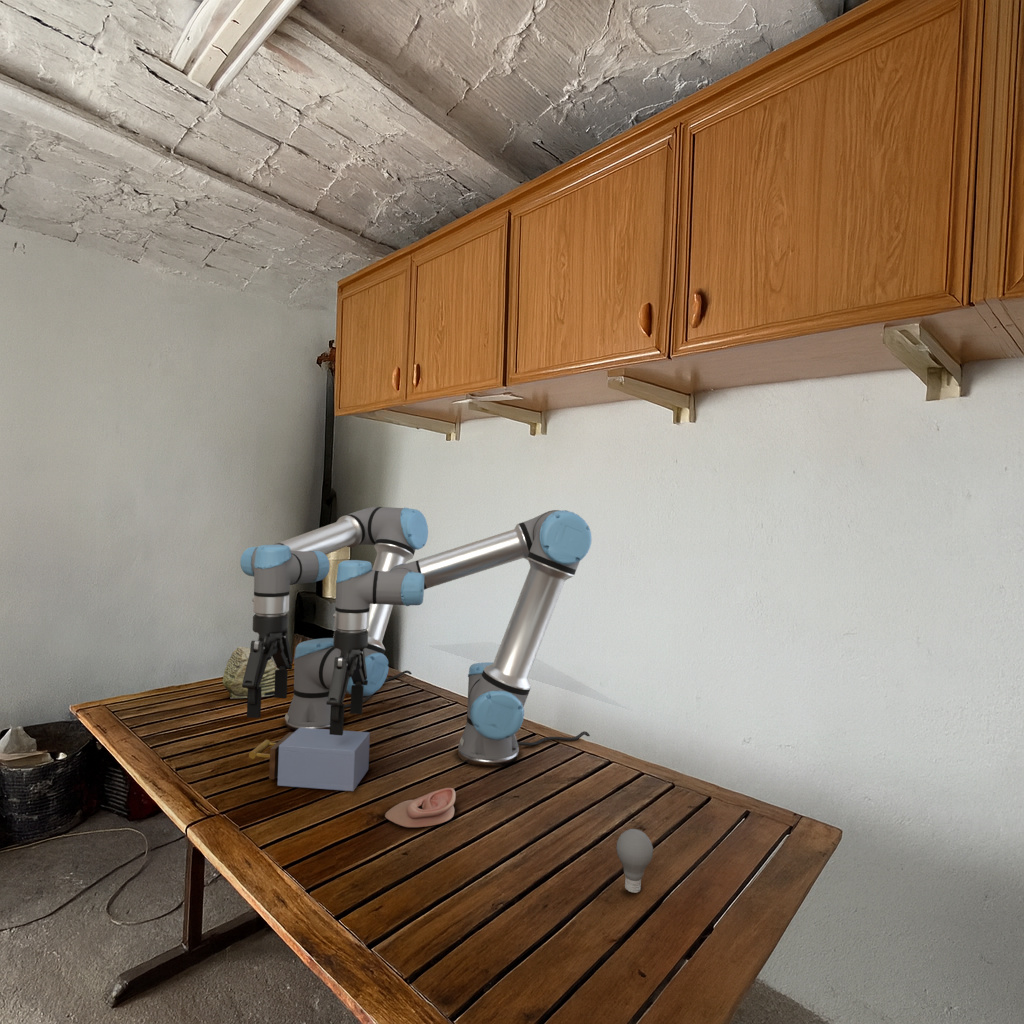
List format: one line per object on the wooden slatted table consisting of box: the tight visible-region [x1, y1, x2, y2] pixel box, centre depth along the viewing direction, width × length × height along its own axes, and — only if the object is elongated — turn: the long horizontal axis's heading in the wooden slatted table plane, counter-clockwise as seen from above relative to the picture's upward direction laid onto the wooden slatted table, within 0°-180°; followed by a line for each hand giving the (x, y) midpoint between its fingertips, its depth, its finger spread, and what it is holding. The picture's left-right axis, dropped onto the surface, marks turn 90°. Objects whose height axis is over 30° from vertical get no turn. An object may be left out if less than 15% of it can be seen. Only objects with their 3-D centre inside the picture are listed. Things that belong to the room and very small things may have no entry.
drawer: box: [248, 731, 295, 780], centre depth 143 cm, size 21×10×7 cm, turn 86°
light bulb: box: [615, 828, 654, 894], centre depth 106 cm, size 6×6×10 cm
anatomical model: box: [384, 787, 457, 828], centre depth 128 cm, size 13×4×12 cm
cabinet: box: [277, 728, 371, 792], centre depth 143 cm, size 17×11×9 cm, turn 86°
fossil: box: [222, 646, 279, 699], centre depth 198 cm, size 9×18×15 cm, turn 132°
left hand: (267, 707), depth 143 cm, fingers open, 13 cm apart
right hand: (346, 723), depth 142 cm, fingers open, 13 cm apart
